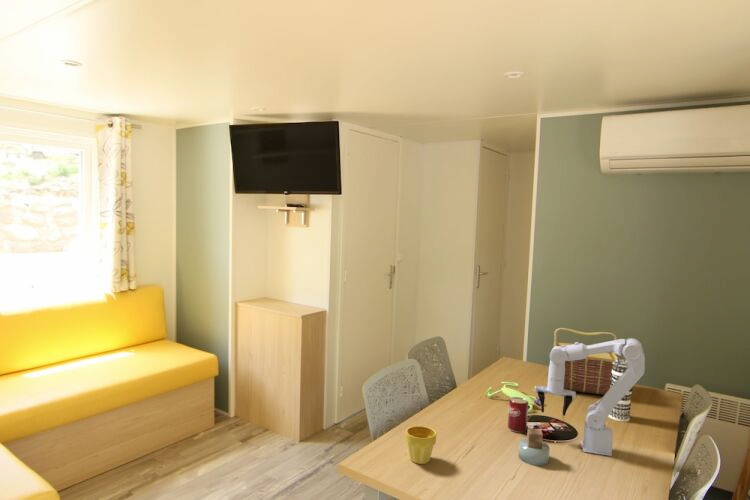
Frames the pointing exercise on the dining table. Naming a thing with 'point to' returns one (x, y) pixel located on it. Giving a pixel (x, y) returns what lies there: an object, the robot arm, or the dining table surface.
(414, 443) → the plant pot
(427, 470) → the dining table surface
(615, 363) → the decorative candle
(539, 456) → the grey rounded dome
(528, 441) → the walnut block
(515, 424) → the soda can
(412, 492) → the dining table surface
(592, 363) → the picnic basket
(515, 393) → the figurine
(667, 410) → the dining table surface
